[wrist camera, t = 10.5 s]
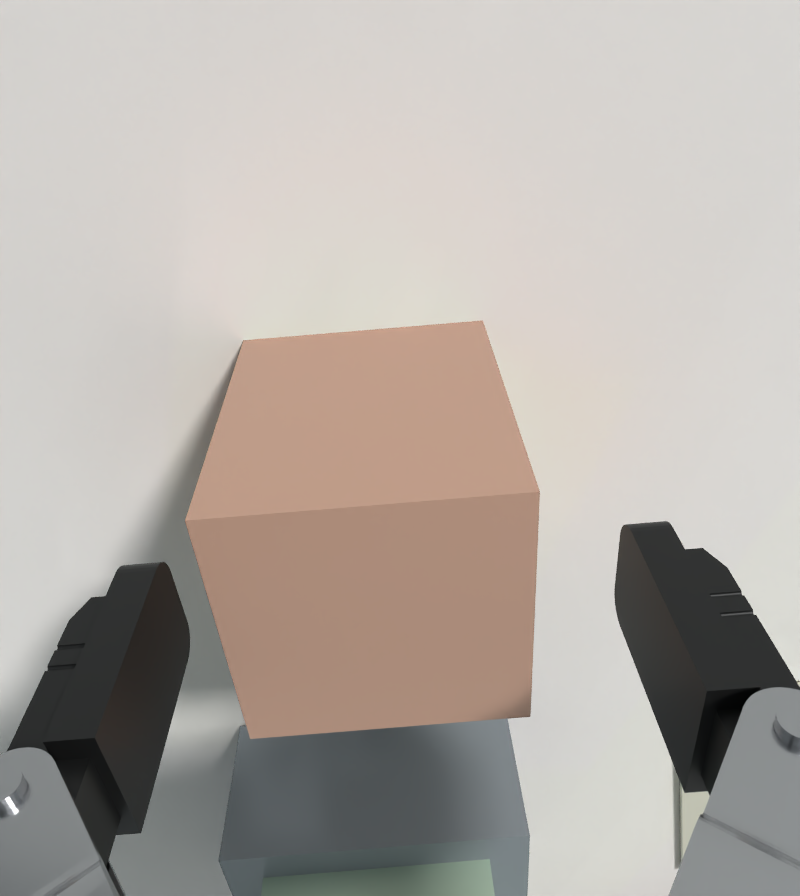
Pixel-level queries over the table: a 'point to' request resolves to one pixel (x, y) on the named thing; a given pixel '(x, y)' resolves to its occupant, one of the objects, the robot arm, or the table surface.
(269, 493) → the brick terracotta
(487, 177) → the table surface
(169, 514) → the table surface
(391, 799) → the base brick
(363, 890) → the brick sage
